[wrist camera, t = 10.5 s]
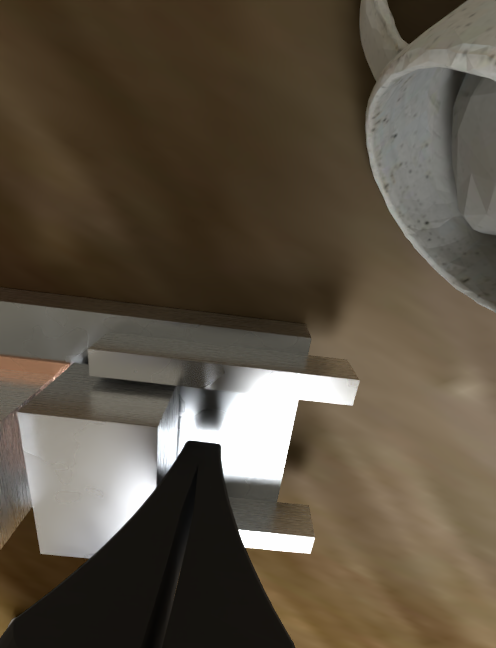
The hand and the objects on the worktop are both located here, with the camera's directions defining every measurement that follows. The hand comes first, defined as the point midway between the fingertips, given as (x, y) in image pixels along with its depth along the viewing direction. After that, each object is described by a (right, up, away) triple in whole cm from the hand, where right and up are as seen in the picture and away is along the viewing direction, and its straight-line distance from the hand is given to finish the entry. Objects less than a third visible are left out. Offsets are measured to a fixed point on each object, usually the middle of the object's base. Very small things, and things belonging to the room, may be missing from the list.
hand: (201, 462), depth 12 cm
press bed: (-5, +2, +3) cm, 6 cm away
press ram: (-3, +1, +1) cm, 3 cm away
